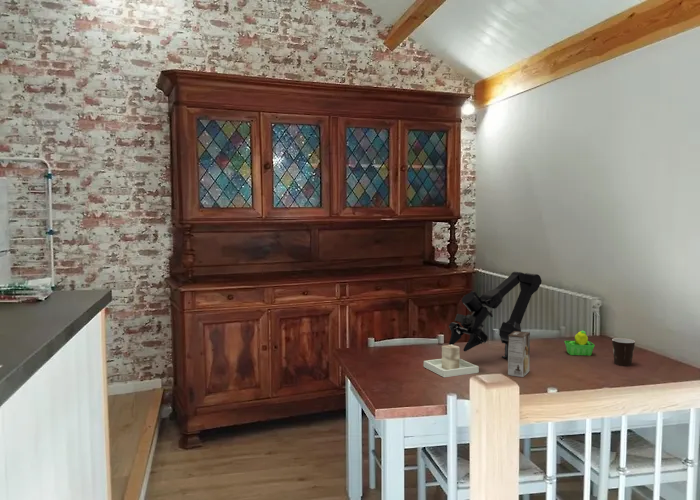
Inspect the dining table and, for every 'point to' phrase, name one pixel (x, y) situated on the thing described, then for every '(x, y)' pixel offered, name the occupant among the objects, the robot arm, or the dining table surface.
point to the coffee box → (518, 353)
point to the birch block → (450, 357)
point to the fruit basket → (580, 345)
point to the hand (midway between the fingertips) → (456, 348)
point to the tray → (462, 370)
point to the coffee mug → (623, 351)
